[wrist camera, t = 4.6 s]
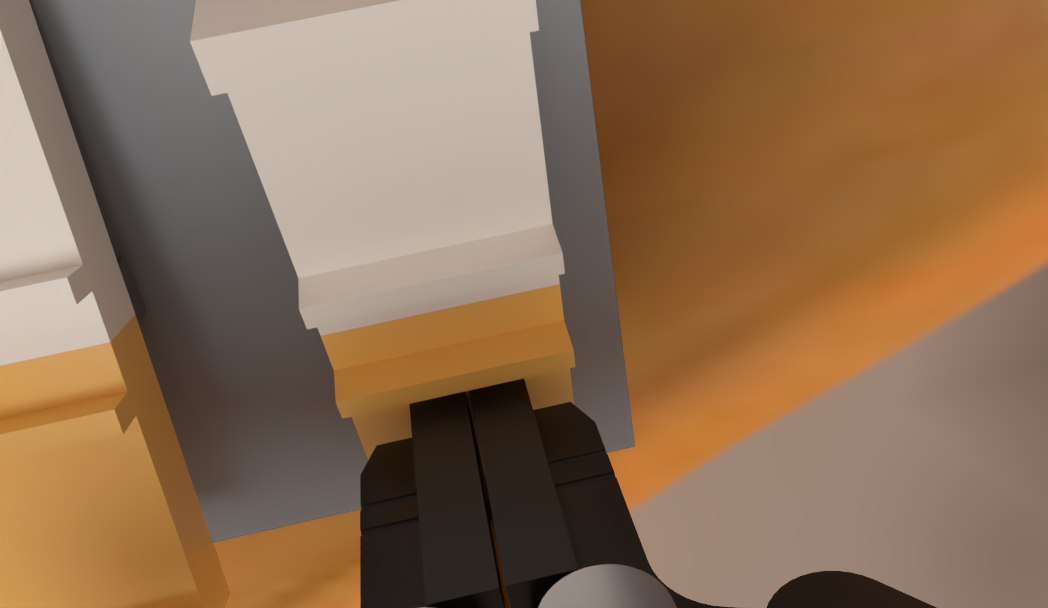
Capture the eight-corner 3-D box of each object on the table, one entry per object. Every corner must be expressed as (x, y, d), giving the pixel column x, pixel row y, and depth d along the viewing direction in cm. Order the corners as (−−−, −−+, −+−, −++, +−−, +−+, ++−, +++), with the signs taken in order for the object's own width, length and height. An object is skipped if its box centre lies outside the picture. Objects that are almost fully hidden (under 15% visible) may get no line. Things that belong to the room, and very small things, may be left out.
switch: (201, -40, 9) (189, 41, 7) (499, -97, 9) (532, -26, 8) (388, 472, 14) (397, 564, 13) (568, 431, 14) (593, 519, 13)
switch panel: (-624, -110, 12) (-1103, -56, 8) (487, -307, 13) (546, -346, 9) (-194, 485, 17) (-359, 696, 13) (579, 316, 18) (643, 466, 14)
